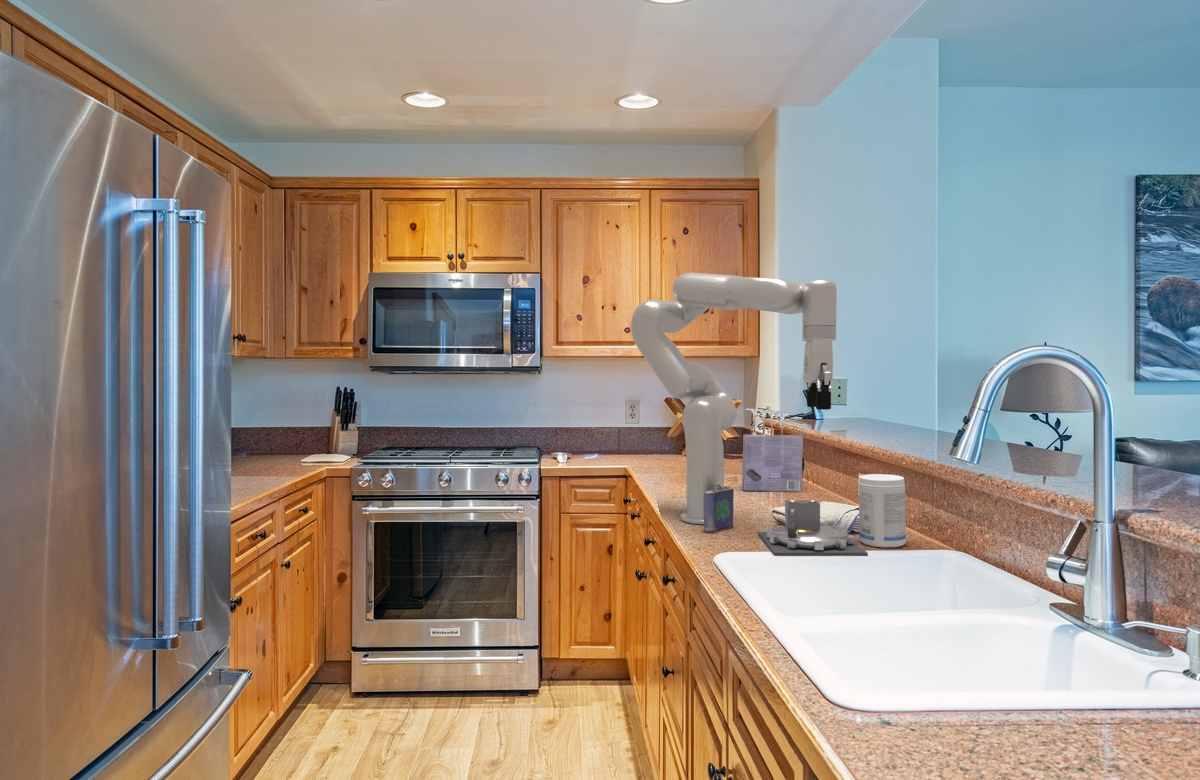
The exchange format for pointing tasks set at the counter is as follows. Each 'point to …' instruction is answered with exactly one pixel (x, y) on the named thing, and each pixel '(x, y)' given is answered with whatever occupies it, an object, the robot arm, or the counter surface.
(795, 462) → the purple product box
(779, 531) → the sprocket
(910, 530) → the counter surface
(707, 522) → the flask
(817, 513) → the grey rectangular block
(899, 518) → the supplement tub
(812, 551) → the base mat
